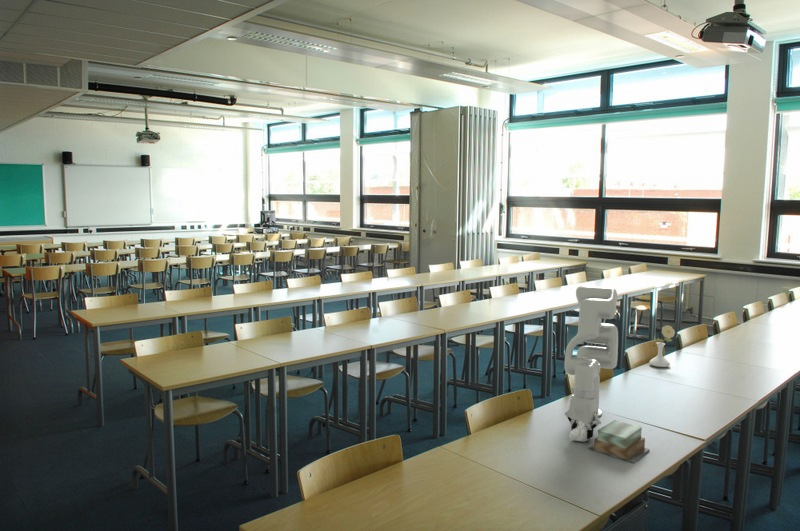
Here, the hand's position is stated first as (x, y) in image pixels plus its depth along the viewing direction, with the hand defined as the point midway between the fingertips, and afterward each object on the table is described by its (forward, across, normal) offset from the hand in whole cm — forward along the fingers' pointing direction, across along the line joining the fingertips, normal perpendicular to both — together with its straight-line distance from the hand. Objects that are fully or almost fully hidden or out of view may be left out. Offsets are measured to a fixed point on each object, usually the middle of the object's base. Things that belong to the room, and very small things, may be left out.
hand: (581, 435), depth 240 cm
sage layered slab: (+2, +15, +2) cm, 15 cm away
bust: (+2, 0, 0) cm, 2 cm away
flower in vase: (+2, -18, +134) cm, 135 cm away
